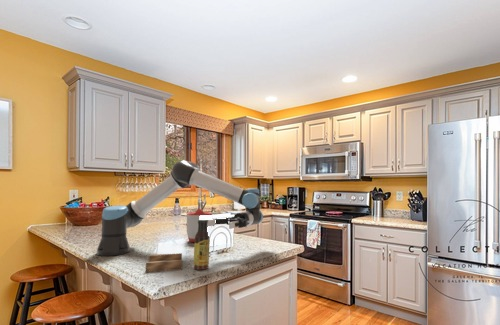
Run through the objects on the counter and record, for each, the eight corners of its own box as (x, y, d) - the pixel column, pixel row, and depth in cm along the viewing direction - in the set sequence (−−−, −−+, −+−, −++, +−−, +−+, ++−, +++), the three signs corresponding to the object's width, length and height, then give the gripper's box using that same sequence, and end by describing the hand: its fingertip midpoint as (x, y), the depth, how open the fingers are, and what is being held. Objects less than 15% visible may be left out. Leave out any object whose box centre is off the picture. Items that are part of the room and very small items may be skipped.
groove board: (145, 271, 114) (145, 262, 114) (149, 262, 126) (149, 255, 127) (181, 269, 117) (181, 260, 117) (181, 260, 130) (181, 253, 130)
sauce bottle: (199, 271, 114) (200, 221, 115) (190, 268, 118) (191, 220, 119) (212, 268, 119) (212, 219, 120) (202, 265, 123) (203, 218, 124)
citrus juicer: (206, 244, 165) (207, 209, 167) (180, 242, 171) (181, 209, 172) (218, 239, 180) (218, 207, 181) (194, 238, 185) (194, 207, 187)
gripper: (264, 228, 139) (240, 235, 121) (223, 225, 152) (196, 231, 134) (264, 213, 140) (240, 217, 122) (223, 211, 153) (196, 215, 135)
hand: (217, 224), depth 128 cm, fingers open, 13 cm apart
